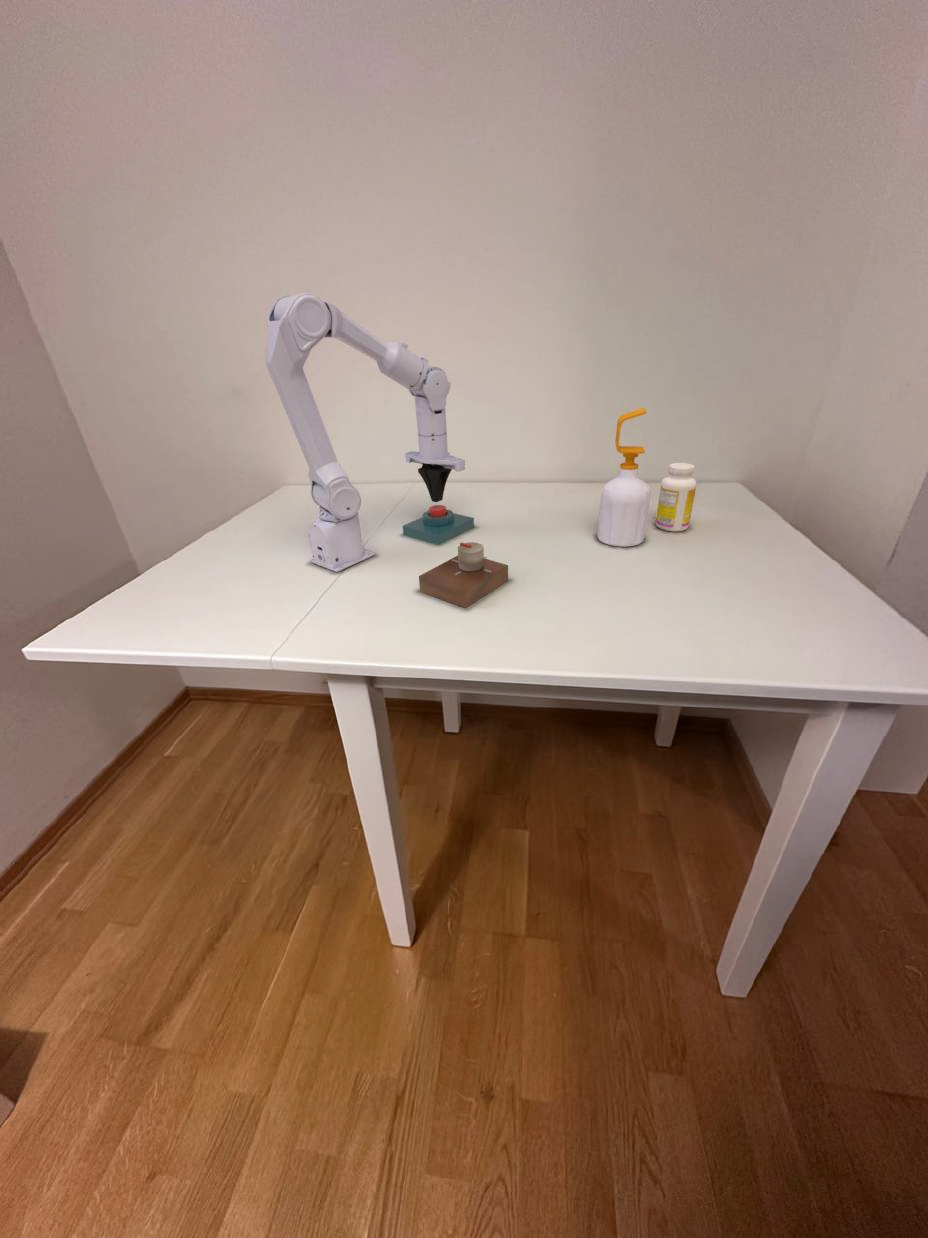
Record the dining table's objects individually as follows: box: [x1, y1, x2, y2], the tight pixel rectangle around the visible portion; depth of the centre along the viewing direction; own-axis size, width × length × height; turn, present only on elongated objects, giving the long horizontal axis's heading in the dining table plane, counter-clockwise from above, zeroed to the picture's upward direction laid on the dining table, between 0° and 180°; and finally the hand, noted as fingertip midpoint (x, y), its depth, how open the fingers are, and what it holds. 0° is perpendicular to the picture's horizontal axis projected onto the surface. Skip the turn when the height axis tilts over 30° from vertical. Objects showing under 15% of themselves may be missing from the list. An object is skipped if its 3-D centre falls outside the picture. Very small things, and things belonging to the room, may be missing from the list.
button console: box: [402, 508, 475, 546], centre depth 110 cm, size 12×10×4 cm
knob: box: [457, 542, 485, 571], centre depth 87 cm, size 4×4×4 cm
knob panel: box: [418, 555, 509, 609], centre depth 88 cm, size 12×10×3 cm
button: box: [428, 504, 447, 517], centre depth 109 cm, size 4×4×2 cm
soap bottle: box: [596, 407, 652, 548], centre depth 97 cm, size 9×9×25 cm
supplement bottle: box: [655, 462, 698, 532], centre depth 104 cm, size 7×7×13 cm
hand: (437, 500), depth 108 cm, fingers closed
